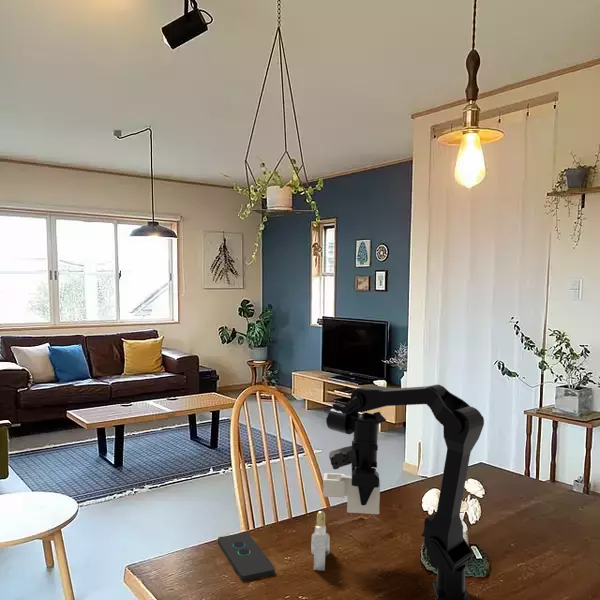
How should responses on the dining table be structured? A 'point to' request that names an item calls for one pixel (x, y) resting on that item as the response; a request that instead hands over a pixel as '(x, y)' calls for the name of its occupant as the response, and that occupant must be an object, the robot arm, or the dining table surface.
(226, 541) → the smart home device
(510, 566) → the dining table surface
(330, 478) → the square loop paddle
